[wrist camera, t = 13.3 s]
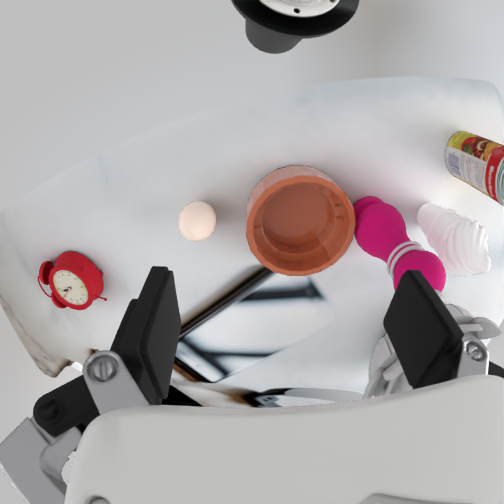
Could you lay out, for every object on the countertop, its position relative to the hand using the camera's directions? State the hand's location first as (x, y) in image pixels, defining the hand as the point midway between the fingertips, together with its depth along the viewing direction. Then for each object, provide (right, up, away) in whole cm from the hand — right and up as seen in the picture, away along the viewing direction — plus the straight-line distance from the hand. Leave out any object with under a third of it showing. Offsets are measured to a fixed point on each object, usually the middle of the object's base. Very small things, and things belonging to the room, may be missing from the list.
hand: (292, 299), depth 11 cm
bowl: (+4, +7, +28) cm, 29 cm away
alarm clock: (-34, -2, +33) cm, 47 cm away
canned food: (+32, +17, +23) cm, 43 cm away
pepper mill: (+15, +7, +29) cm, 33 cm away
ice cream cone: (+26, +8, +28) cm, 40 cm away
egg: (-9, +8, +28) cm, 30 cm away
